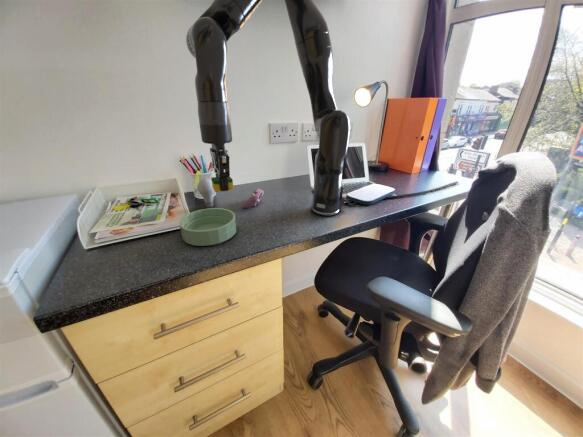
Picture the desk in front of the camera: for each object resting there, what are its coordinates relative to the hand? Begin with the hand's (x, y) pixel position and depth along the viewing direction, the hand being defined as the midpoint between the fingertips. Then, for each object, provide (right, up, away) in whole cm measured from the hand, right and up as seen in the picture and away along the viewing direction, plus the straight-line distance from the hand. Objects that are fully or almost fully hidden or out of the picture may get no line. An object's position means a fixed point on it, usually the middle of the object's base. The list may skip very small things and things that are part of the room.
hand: (222, 187), depth 66 cm
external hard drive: (+53, +1, +33) cm, 62 cm away
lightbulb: (-11, -5, +21) cm, 24 cm away
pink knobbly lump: (+5, -3, +24) cm, 25 cm away
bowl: (-5, -13, +4) cm, 14 cm away
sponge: (0, 0, 0) cm, 0 cm away
